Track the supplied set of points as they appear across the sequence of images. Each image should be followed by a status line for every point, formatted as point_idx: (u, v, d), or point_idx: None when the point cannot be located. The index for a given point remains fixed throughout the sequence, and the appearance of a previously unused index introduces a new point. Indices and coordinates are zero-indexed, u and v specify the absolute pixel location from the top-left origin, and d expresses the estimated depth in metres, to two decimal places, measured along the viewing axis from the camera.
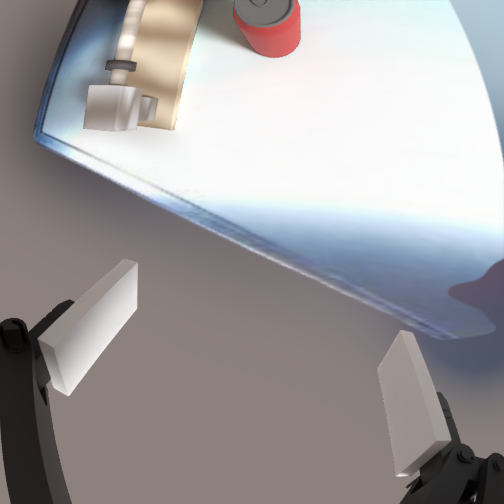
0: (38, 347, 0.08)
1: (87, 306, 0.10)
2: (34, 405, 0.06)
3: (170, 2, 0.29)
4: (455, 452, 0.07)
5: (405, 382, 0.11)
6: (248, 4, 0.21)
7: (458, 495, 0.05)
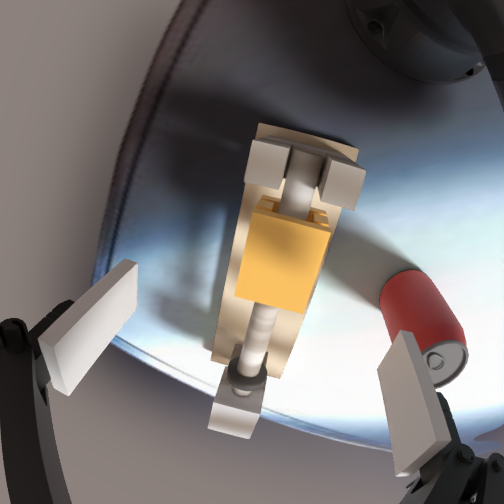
0: (38, 347, 0.08)
1: (87, 306, 0.10)
2: (34, 405, 0.06)
3: None
4: (455, 452, 0.07)
5: (405, 382, 0.11)
6: None
7: (458, 495, 0.05)
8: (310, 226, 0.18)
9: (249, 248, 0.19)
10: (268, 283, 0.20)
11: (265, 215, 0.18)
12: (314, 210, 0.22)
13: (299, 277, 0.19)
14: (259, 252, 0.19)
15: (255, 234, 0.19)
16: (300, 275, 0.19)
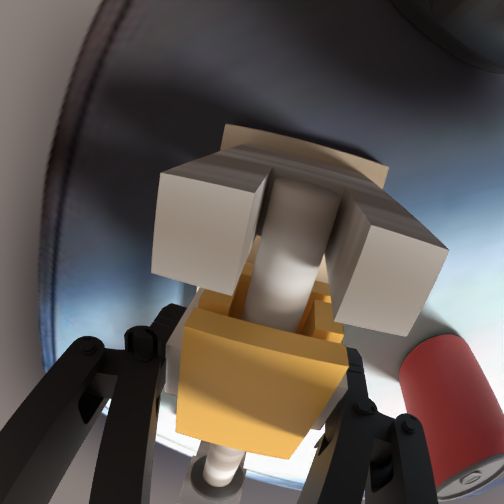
0: None
1: None
2: (150, 419, 0.07)
3: None
4: (350, 406, 0.09)
5: None
6: (455, 483, 0.11)
7: (370, 450, 0.07)
8: (307, 355, 0.08)
9: (187, 381, 0.09)
10: (228, 426, 0.10)
11: (211, 333, 0.08)
12: (317, 289, 0.12)
13: (282, 424, 0.09)
14: (206, 388, 0.09)
15: (195, 362, 0.09)
16: (284, 422, 0.09)
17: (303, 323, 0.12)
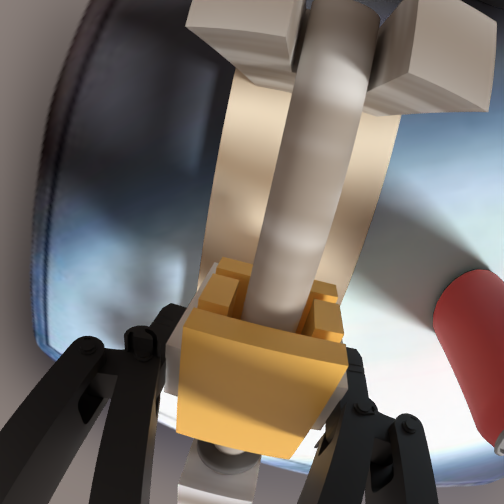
0: None
1: None
2: (150, 419, 0.07)
3: None
4: (351, 406, 0.09)
5: None
6: None
7: (370, 450, 0.07)
8: (306, 354, 0.08)
9: (187, 381, 0.09)
10: (228, 427, 0.10)
11: (210, 333, 0.08)
12: (316, 288, 0.12)
13: (283, 424, 0.09)
14: (206, 389, 0.09)
15: (194, 363, 0.09)
16: (284, 422, 0.09)
17: (303, 323, 0.12)
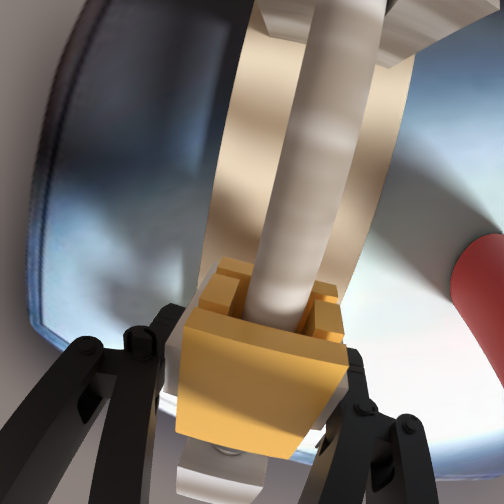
0: None
1: None
2: (149, 419, 0.07)
3: None
4: (351, 406, 0.09)
5: None
6: None
7: (371, 451, 0.07)
8: (307, 355, 0.08)
9: (187, 381, 0.09)
10: (228, 426, 0.10)
11: (210, 333, 0.08)
12: (317, 289, 0.12)
13: (282, 424, 0.09)
14: (206, 388, 0.09)
15: (195, 362, 0.09)
16: (284, 422, 0.09)
17: (303, 323, 0.12)
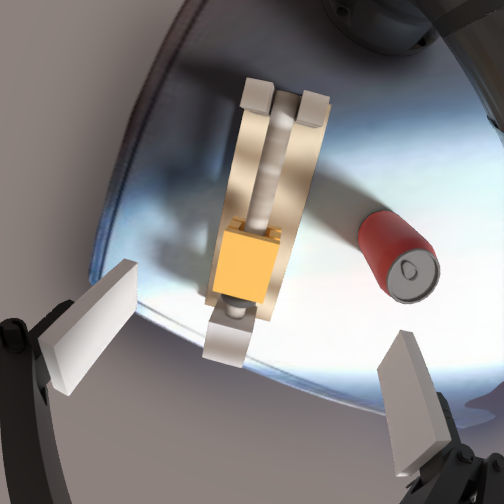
0: (38, 347, 0.08)
1: (87, 306, 0.10)
2: (34, 405, 0.06)
3: None
4: (455, 452, 0.07)
5: (405, 382, 0.11)
6: (399, 275, 0.25)
7: (458, 495, 0.05)
8: (265, 240, 0.26)
9: (222, 256, 0.27)
10: (236, 281, 0.28)
11: (233, 232, 0.26)
12: (272, 227, 0.30)
13: (258, 276, 0.27)
14: (229, 258, 0.27)
15: (226, 246, 0.27)
16: (259, 275, 0.27)
17: None
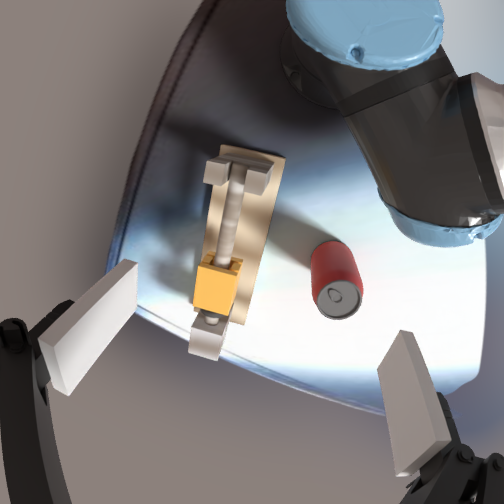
0: (38, 347, 0.08)
1: (87, 306, 0.10)
2: (34, 405, 0.06)
3: (241, 216, 0.44)
4: (455, 452, 0.07)
5: (405, 382, 0.11)
6: (327, 299, 0.36)
7: (458, 495, 0.05)
8: (226, 273, 0.37)
9: (198, 282, 0.38)
10: (208, 299, 0.39)
11: (204, 267, 0.37)
12: (236, 260, 0.40)
13: (223, 297, 0.38)
14: (203, 284, 0.38)
15: (200, 276, 0.37)
16: (223, 296, 0.38)
17: None
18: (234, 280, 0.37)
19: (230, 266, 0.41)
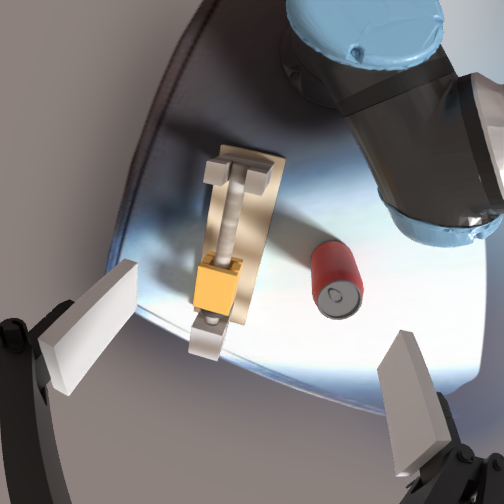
0: (38, 347, 0.08)
1: (87, 306, 0.10)
2: (34, 405, 0.06)
3: (241, 216, 0.44)
4: (455, 452, 0.07)
5: (405, 382, 0.11)
6: (328, 299, 0.36)
7: (458, 495, 0.05)
8: (226, 273, 0.37)
9: (198, 282, 0.38)
10: (208, 299, 0.39)
11: (204, 267, 0.37)
12: (236, 260, 0.40)
13: (223, 297, 0.38)
14: (203, 284, 0.38)
15: (200, 276, 0.37)
16: (224, 296, 0.38)
17: None
18: (234, 280, 0.37)
19: (230, 266, 0.41)
